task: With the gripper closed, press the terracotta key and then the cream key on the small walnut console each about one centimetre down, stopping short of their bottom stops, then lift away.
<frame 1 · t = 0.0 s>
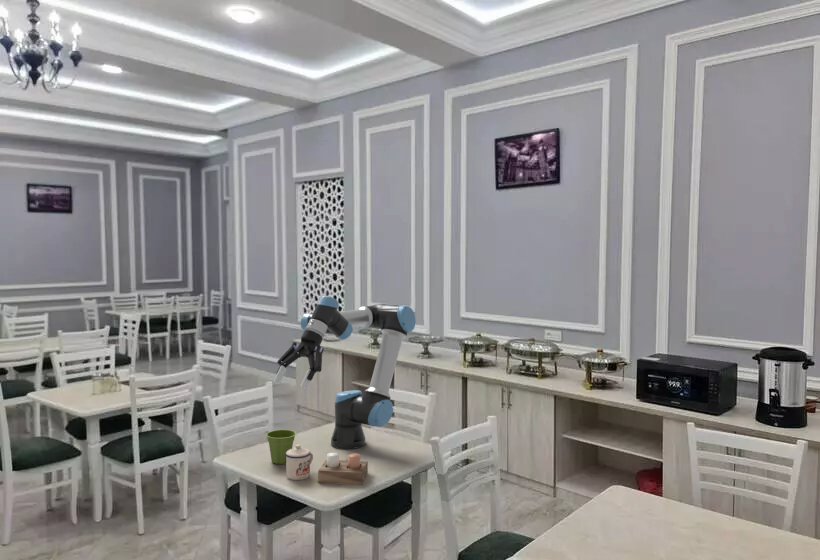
hand: (289, 385, 204), 36 cm above the table, tool tilted 35°, fingers open, 13 cm apart
plant pot: (281, 461, 230), on the table
walnut console: (343, 477, 213), on the table
teacup with lid: (300, 475, 216), on the table
terracotta key: (354, 463, 212), point 5 cm above the table, slide at 0.0 cm
cream key: (332, 462, 213), point 5 cm above the table, slide at 0.0 cm
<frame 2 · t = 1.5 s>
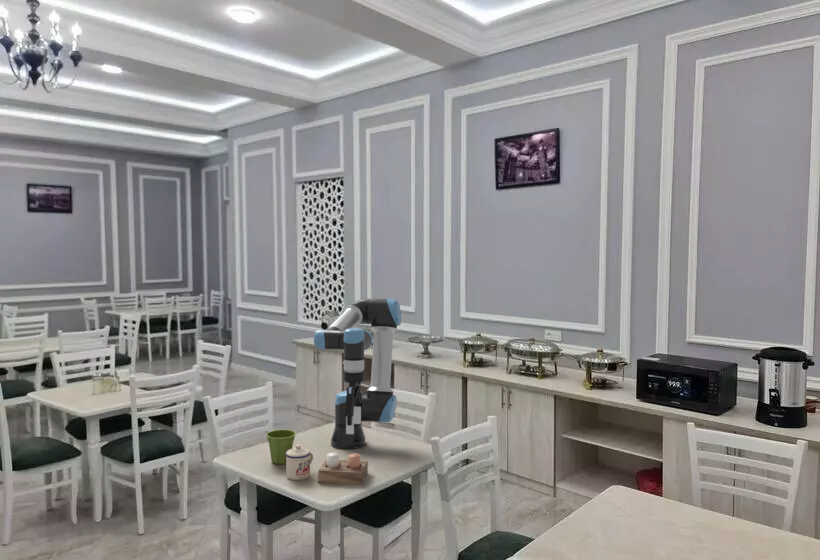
hand: (353, 428, 212), 19 cm above the table, tool pointing down, fingers open, 12 cm apart
nothing on the table moved.
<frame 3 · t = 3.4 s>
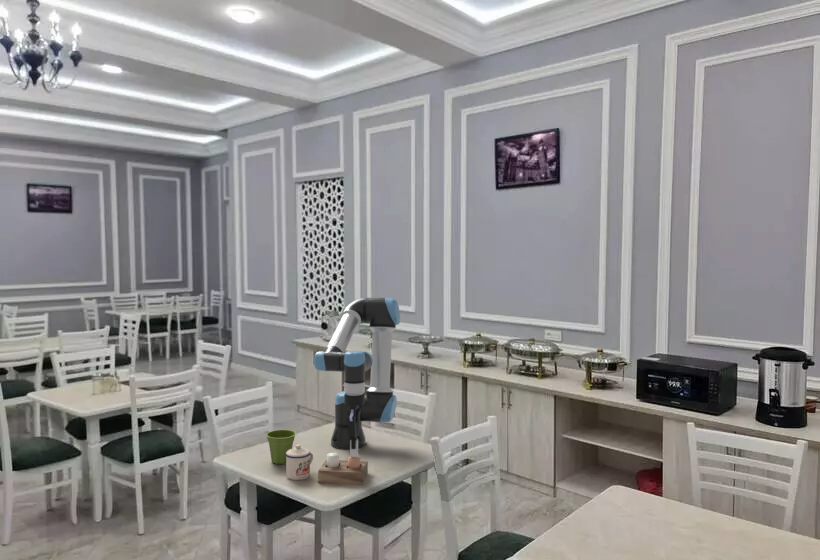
hand: (354, 456, 212), 8 cm above the table, tool pointing down, fingers closed
terracotta key: (354, 465, 212), point 5 cm above the table, slide at 0.7 cm, touching gripper
everything else where it was.
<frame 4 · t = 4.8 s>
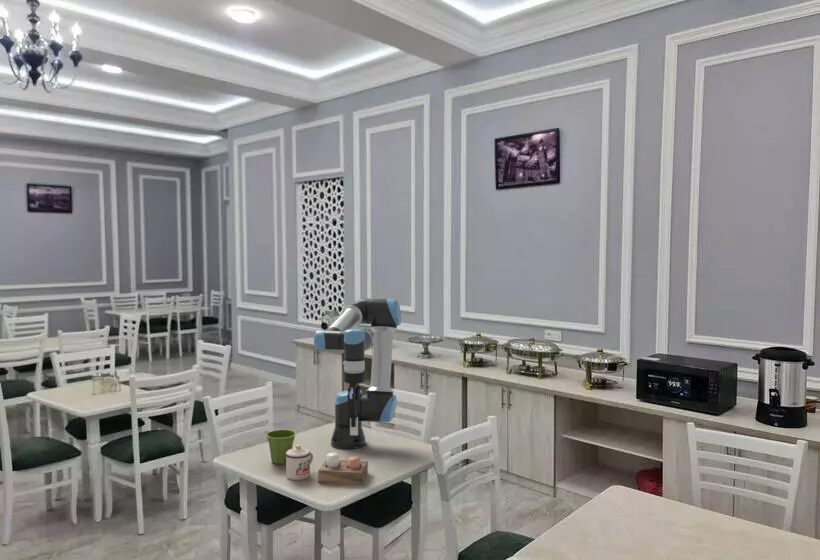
hand: (354, 434, 212), 16 cm above the table, tool pointing down, fingers closed
terracotta key: (354, 466, 212), point 4 cm above the table, slide at 1.0 cm
everything else where it was.
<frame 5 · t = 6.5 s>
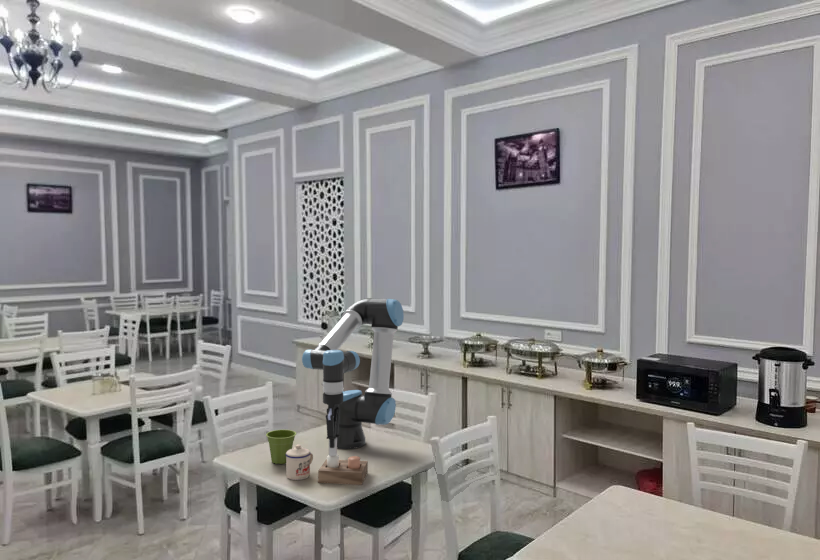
hand: (332, 455, 213), 8 cm above the table, tool pointing down, fingers closed
cream key: (332, 463, 213), point 5 cm above the table, slide at 0.5 cm, touching gripper
everything else where it was.
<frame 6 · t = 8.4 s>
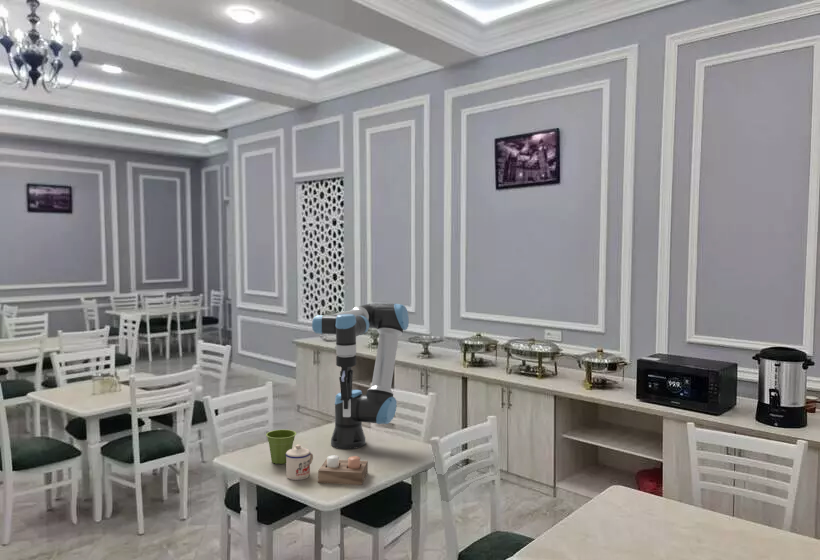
hand: (346, 416, 219), 21 cm above the table, tool pointing down, fingers closed
cream key: (332, 465, 213), point 4 cm above the table, slide at 1.0 cm
everything else where it was.
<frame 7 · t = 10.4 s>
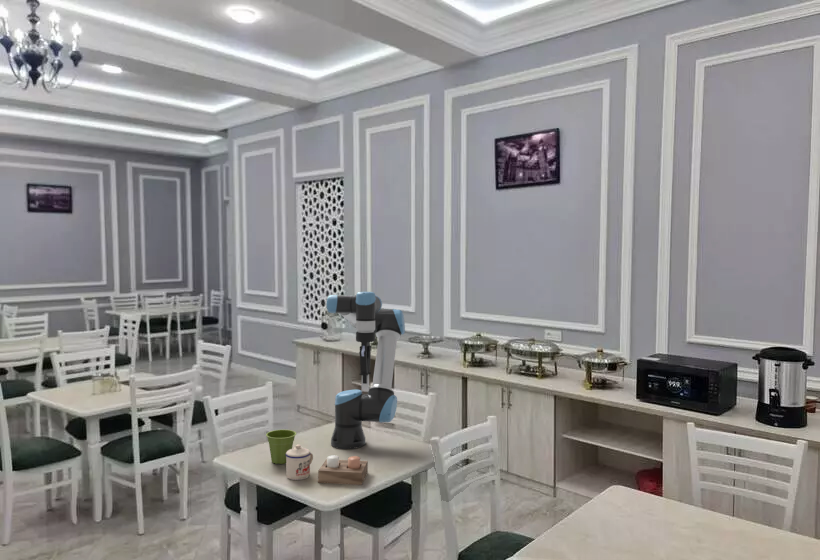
hand: (365, 391, 225), 29 cm above the table, tool pointing down, fingers closed
nothing on the table moved.
at the end: terracotta key slide at 1.0 cm; cream key slide at 1.0 cm; teacup with lid moved 0.2 cm from its start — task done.
